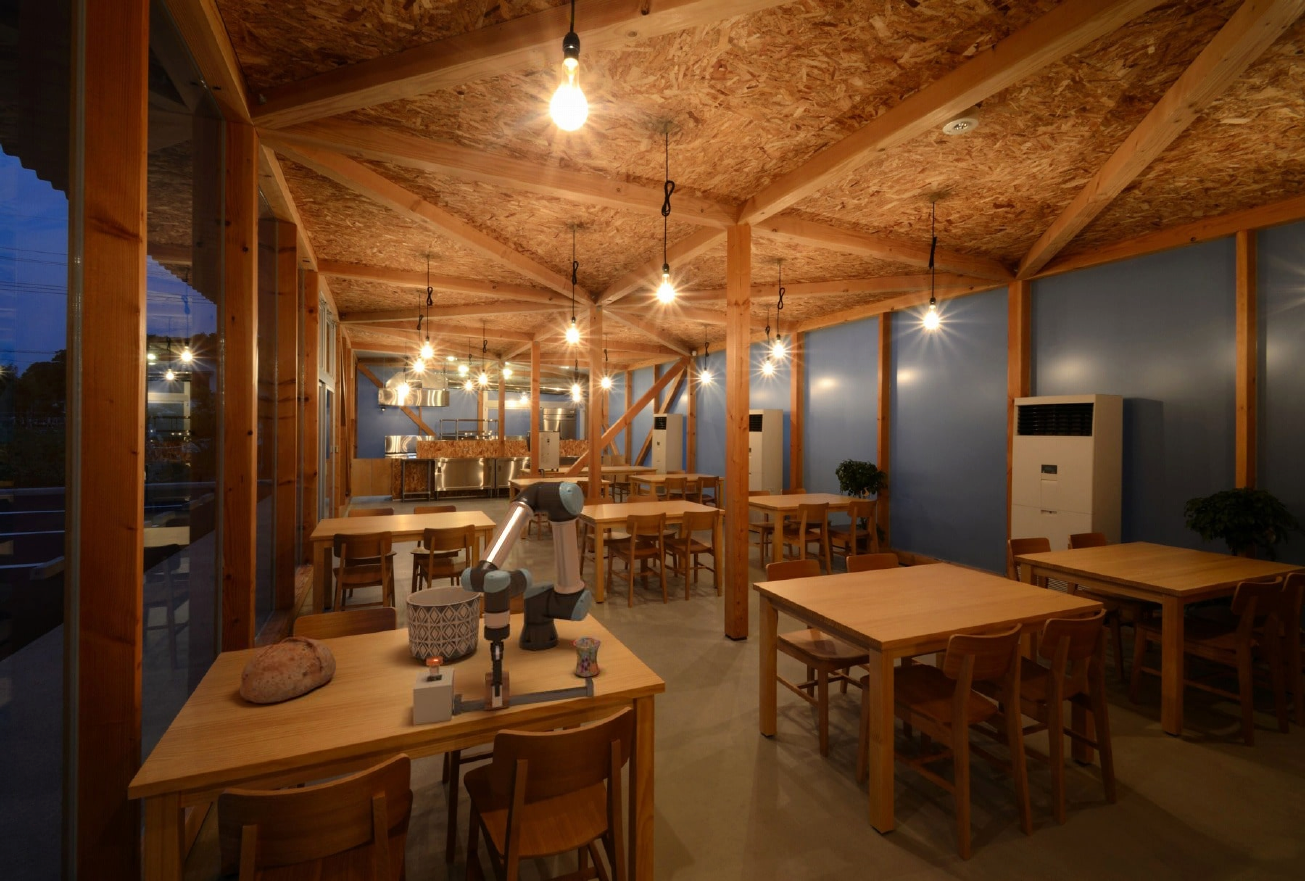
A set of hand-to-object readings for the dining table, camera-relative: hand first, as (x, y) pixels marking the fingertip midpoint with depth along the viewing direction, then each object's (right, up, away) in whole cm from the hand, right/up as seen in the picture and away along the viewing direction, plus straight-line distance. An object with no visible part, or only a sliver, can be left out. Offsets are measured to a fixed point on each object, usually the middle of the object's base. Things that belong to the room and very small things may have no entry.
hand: (497, 701), depth 166 cm
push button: (-17, +8, -4) cm, 19 cm away
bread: (-70, -1, +12) cm, 72 cm away
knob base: (-17, -1, -4) cm, 18 cm away
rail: (+8, -1, +2) cm, 8 cm away
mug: (+24, -1, +24) cm, 34 cm away
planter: (-31, -1, +40) cm, 50 cm away
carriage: (0, -1, 0) cm, 1 cm away
